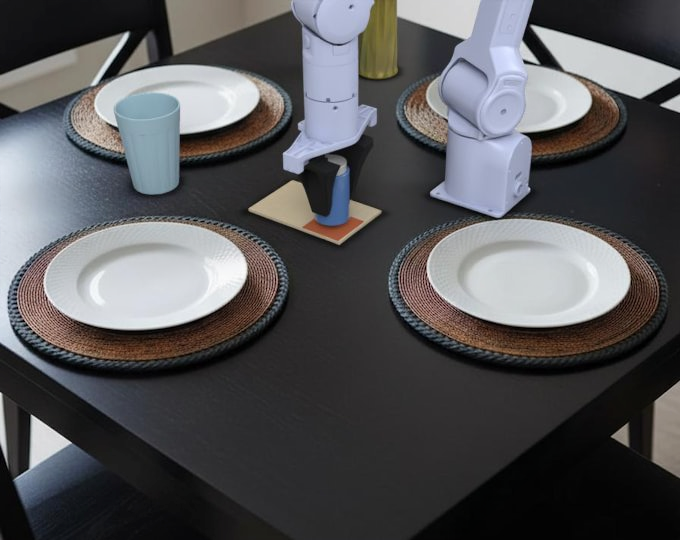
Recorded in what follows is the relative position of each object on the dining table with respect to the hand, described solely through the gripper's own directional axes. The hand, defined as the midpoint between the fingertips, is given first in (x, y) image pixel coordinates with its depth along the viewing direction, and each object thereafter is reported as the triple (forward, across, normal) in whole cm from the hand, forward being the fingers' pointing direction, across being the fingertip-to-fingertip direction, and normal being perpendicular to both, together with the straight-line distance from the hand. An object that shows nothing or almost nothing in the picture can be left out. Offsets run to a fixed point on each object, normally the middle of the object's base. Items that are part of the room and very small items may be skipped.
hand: (332, 204), depth 117 cm
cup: (+3, +4, -24) cm, 24 cm away
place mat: (+3, -2, -4) cm, 5 cm away
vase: (+3, -40, -21) cm, 45 cm away
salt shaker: (+2, 0, 0) cm, 2 cm away
